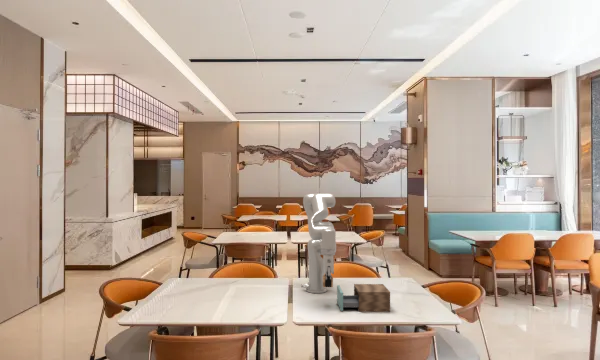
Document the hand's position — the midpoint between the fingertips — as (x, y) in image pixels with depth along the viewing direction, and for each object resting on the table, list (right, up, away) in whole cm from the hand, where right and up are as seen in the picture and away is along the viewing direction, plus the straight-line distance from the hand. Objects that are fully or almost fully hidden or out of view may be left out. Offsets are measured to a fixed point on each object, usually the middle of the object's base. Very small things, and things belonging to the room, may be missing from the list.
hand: (327, 284), depth 218 cm
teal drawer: (+14, -11, -2) cm, 17 cm away
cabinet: (+23, -11, -2) cm, 26 cm away
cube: (0, -1, 0) cm, 1 cm away
